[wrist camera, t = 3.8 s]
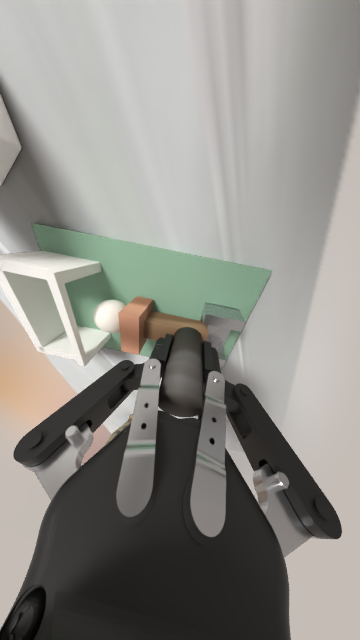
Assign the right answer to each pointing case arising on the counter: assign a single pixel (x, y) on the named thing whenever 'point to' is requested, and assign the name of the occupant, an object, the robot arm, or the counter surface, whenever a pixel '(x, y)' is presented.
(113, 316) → the ball
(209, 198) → the counter surface
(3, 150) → the jar
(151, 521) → the robot arm
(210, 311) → the bracket
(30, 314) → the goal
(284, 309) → the counter surface
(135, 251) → the pitch mat
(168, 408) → the wooden peg with knob
